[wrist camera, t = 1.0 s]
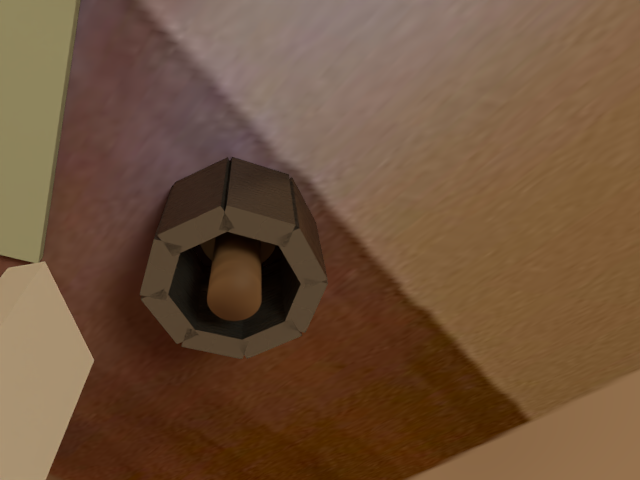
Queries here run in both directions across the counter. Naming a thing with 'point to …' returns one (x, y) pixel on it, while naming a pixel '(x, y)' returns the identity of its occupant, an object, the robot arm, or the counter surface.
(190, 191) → the grey hollow octagonal ring
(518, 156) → the counter surface
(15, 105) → the sage mat
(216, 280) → the tan peg with base
